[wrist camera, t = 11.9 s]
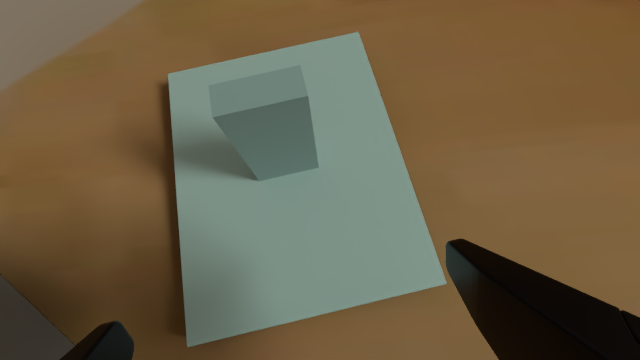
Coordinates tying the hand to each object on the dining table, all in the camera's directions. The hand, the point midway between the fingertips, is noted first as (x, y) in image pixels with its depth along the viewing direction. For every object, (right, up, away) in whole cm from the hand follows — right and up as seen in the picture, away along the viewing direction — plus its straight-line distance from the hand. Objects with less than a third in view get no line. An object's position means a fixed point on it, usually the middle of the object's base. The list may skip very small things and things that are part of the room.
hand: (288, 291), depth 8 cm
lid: (-1, +4, +13) cm, 13 cm away
